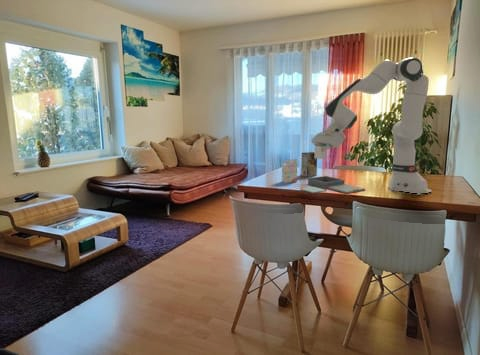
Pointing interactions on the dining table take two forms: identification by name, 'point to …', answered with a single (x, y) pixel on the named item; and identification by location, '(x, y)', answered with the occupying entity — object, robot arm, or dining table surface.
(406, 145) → the robot arm
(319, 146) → the block
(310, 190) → the pad
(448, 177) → the dining table surface
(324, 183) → the equipment case
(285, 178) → the ink cartridge box
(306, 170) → the coffee box
